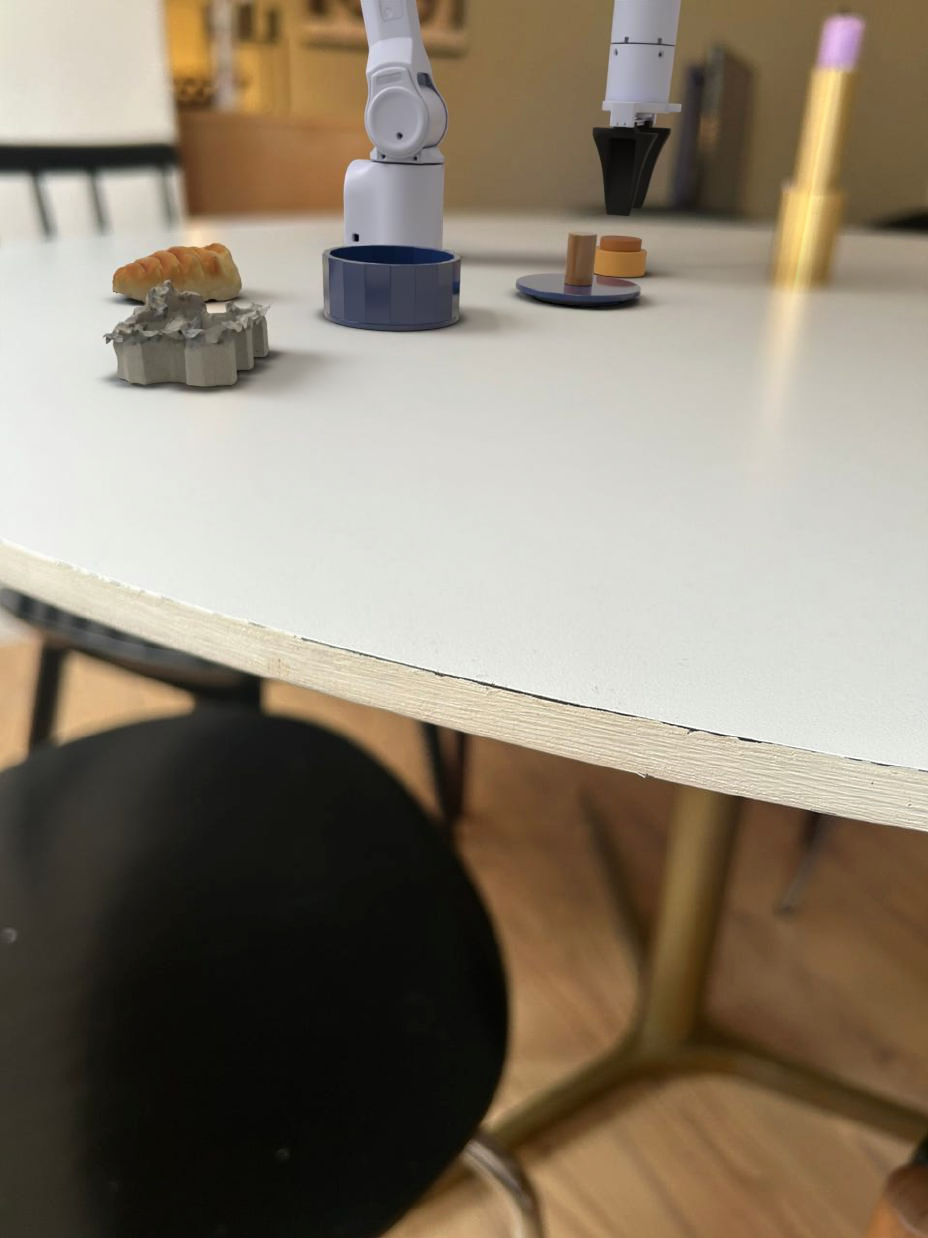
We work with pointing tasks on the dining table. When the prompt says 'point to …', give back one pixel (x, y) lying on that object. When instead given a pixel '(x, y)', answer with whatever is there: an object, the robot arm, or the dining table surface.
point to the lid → (579, 279)
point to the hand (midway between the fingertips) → (624, 211)
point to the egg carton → (188, 340)
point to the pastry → (182, 273)
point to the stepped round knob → (620, 257)
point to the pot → (391, 286)
